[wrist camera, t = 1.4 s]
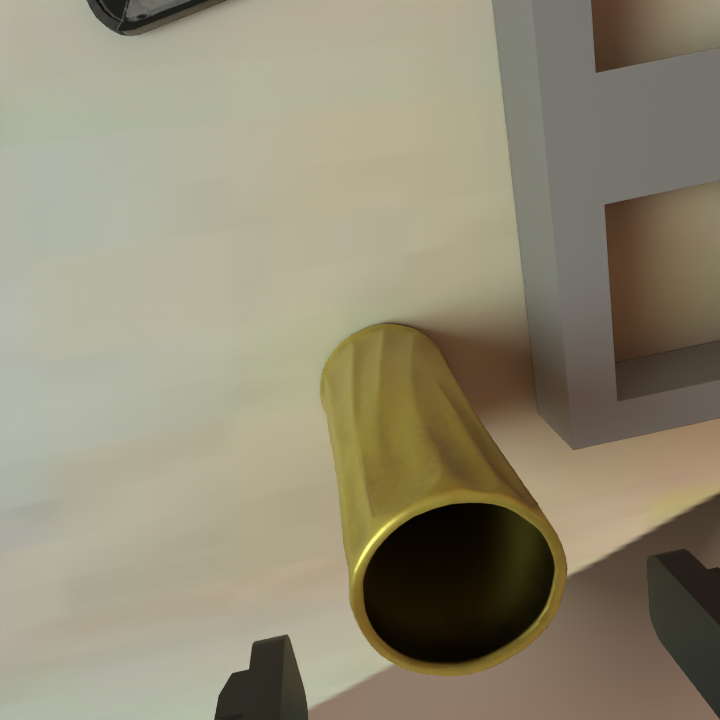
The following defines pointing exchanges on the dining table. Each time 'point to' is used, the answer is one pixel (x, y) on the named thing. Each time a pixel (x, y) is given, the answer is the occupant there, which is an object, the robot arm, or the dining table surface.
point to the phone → (144, 13)
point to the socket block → (599, 212)
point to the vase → (432, 512)
